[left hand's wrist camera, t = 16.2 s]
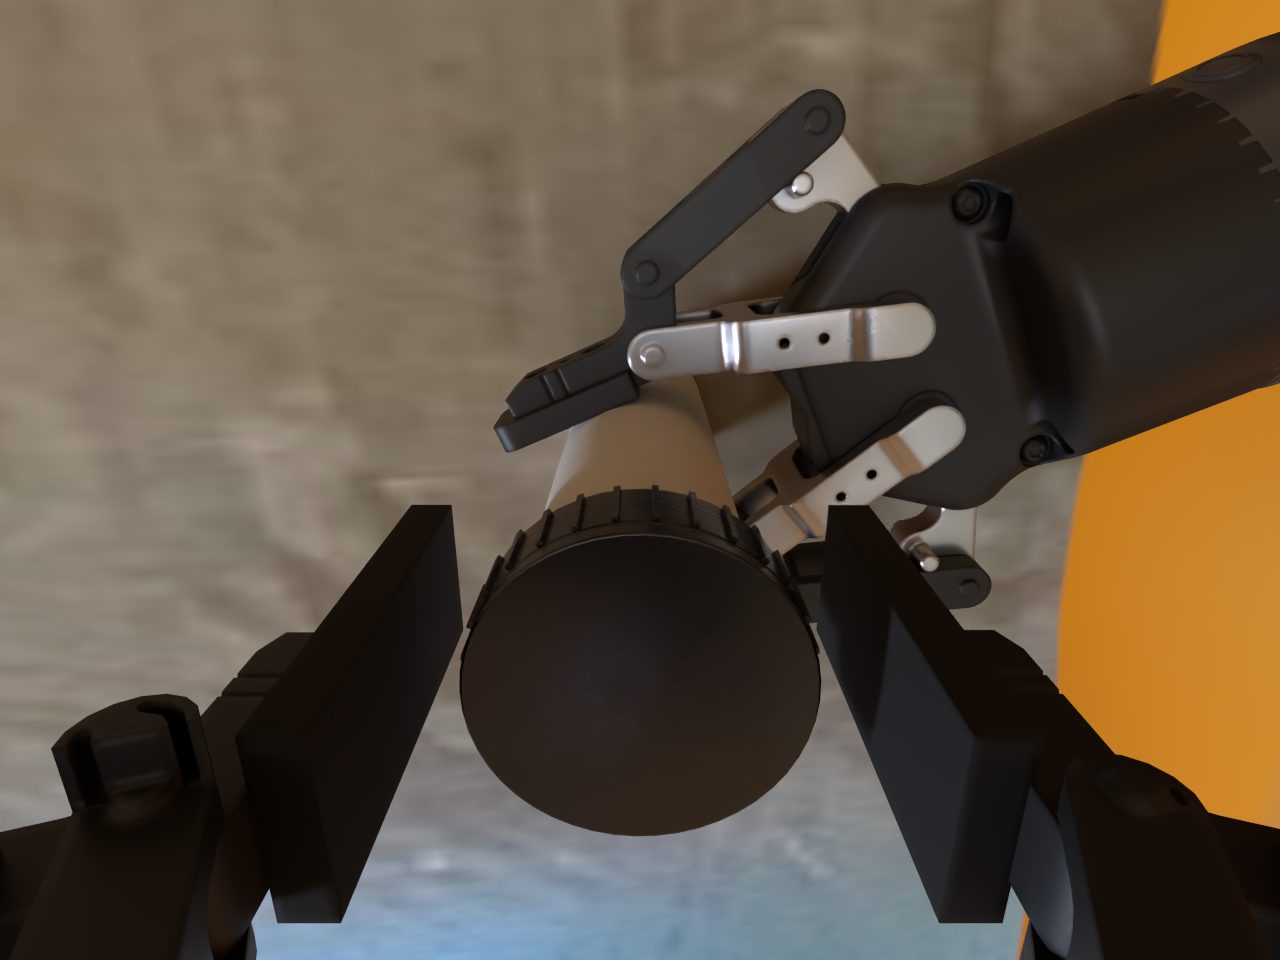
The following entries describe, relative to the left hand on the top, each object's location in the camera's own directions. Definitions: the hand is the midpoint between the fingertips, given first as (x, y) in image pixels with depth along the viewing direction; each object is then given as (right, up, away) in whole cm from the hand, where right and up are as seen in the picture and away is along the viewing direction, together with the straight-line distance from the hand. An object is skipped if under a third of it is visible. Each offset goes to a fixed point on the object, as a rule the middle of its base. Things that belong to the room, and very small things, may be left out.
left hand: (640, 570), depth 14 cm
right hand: (-2, +1, +6) cm, 6 cm away
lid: (0, -1, -3) cm, 4 cm away
